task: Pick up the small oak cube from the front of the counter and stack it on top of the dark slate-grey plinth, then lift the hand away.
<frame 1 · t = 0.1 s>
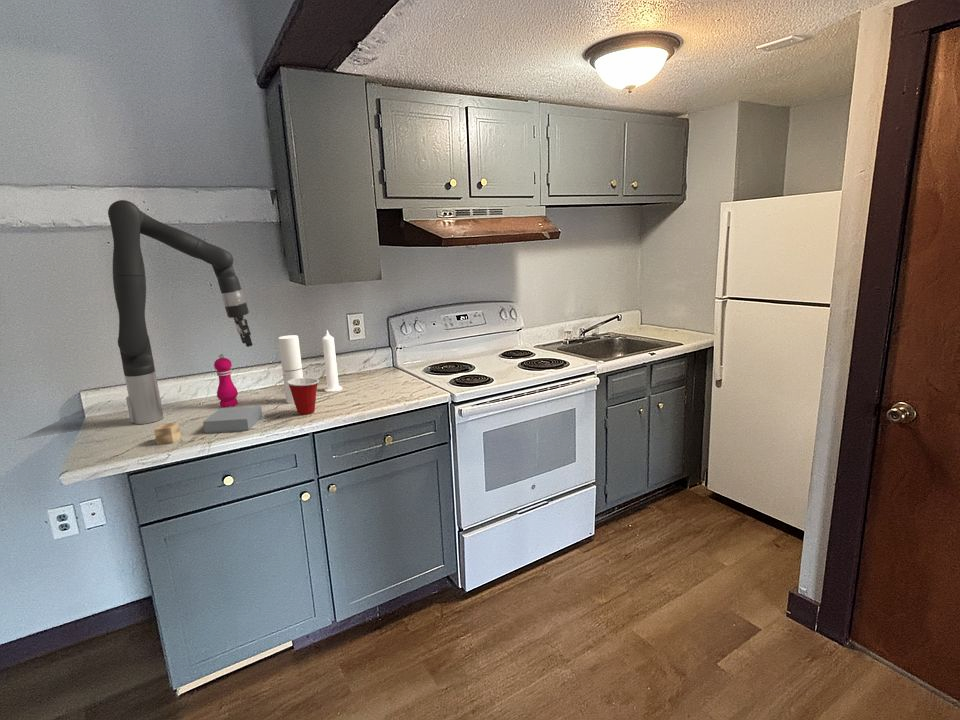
hand: (247, 344, 204), 22 cm above the worktop, tool pointing down, fingers open, 8 cm apart
oak cube: (169, 441, 169), on the worktop
pepper mill: (229, 405, 205), on the worktop
plastic cup: (307, 412, 192), on the worktop
slate plinth: (234, 424, 182), on the worktop
cylindrical container: (296, 400, 207), on the worktop
candle: (333, 390, 220), on the worktop
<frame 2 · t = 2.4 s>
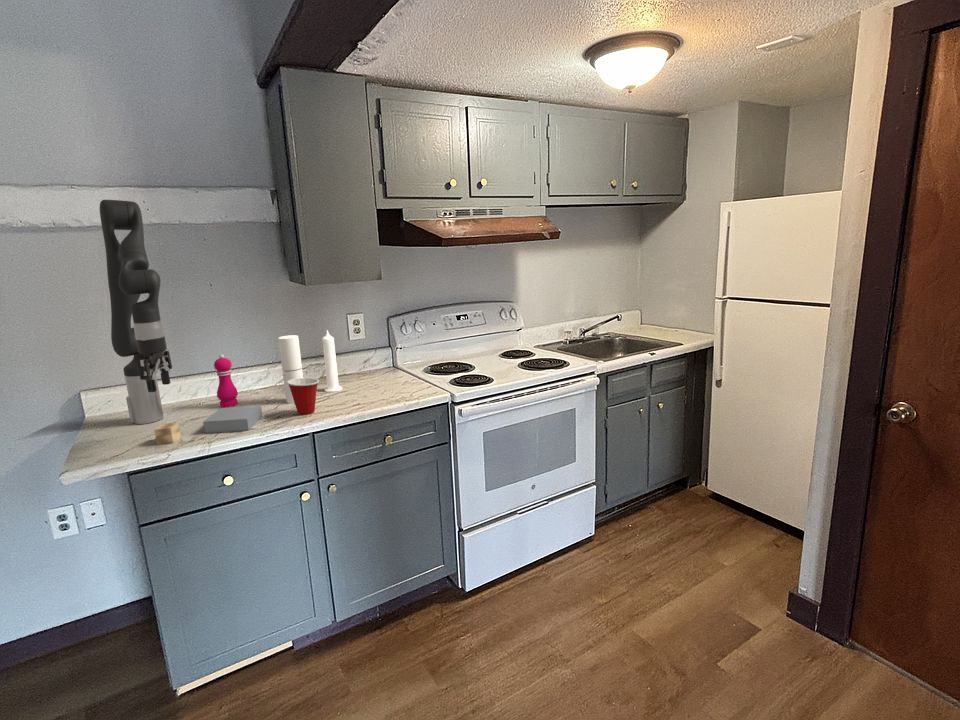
hand: (159, 387, 166), 17 cm above the worktop, tool pointing down, fingers open, 8 cm apart
nothing on the worktop moved.
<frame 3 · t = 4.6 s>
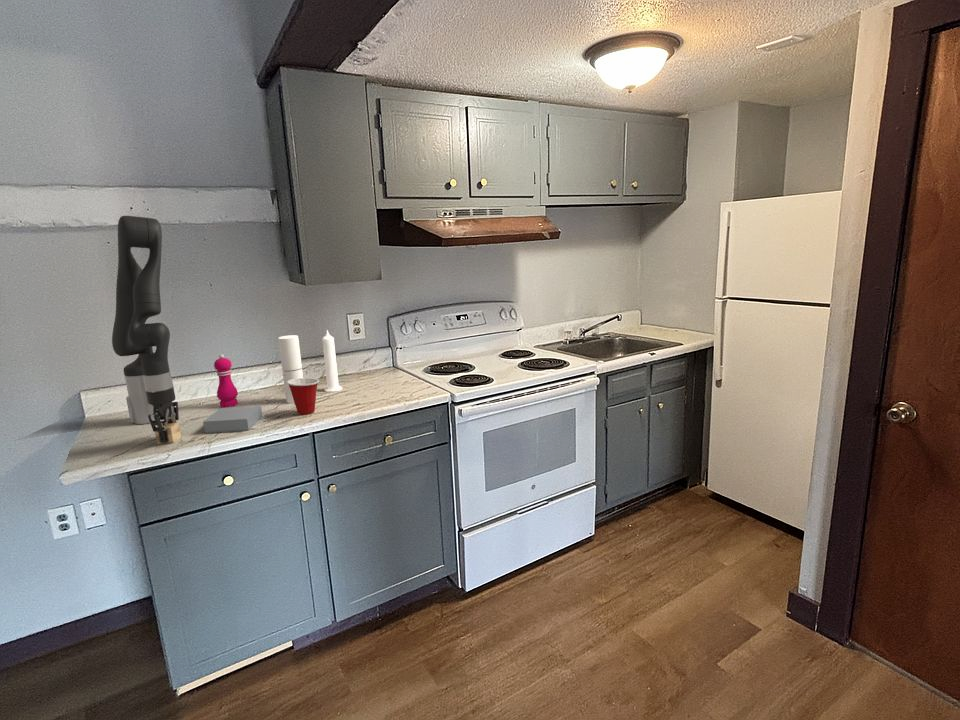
hand: (169, 438, 169), 1 cm above the worktop, tool pointing down, fingers closed on oak cube, 5 cm apart
oak cube: (169, 440, 169), on the worktop, touching gripper
everything else where it was.
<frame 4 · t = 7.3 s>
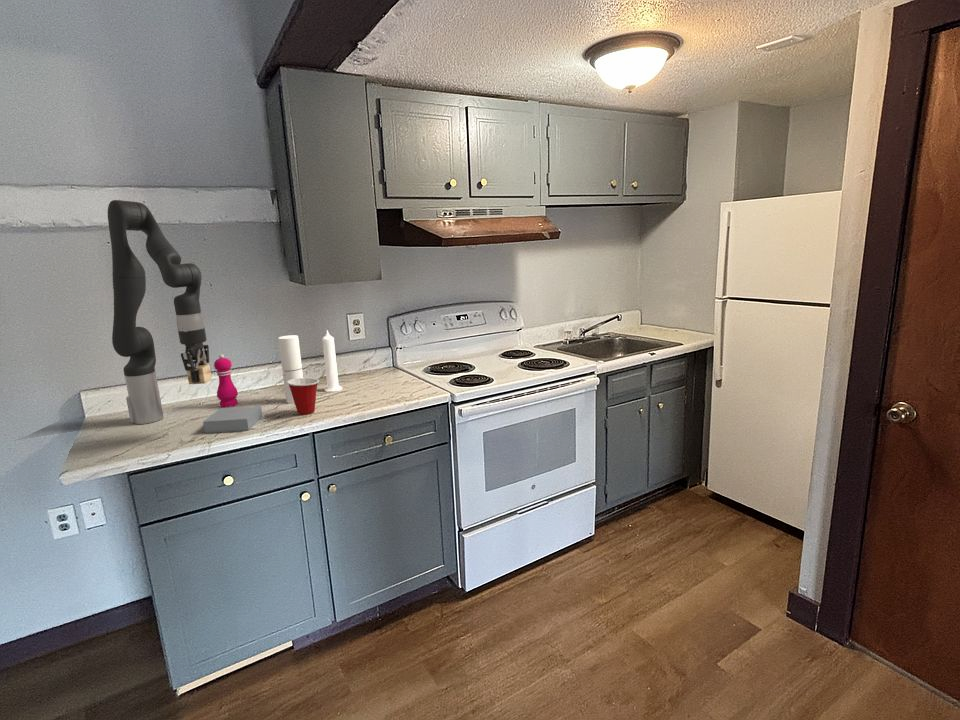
hand: (200, 379, 172), 18 cm above the worktop, tool pointing down, fingers closed on oak cube, 5 cm apart
oak cube: (200, 381, 173), point 17 cm above the worktop, touching gripper
everything else where it was.
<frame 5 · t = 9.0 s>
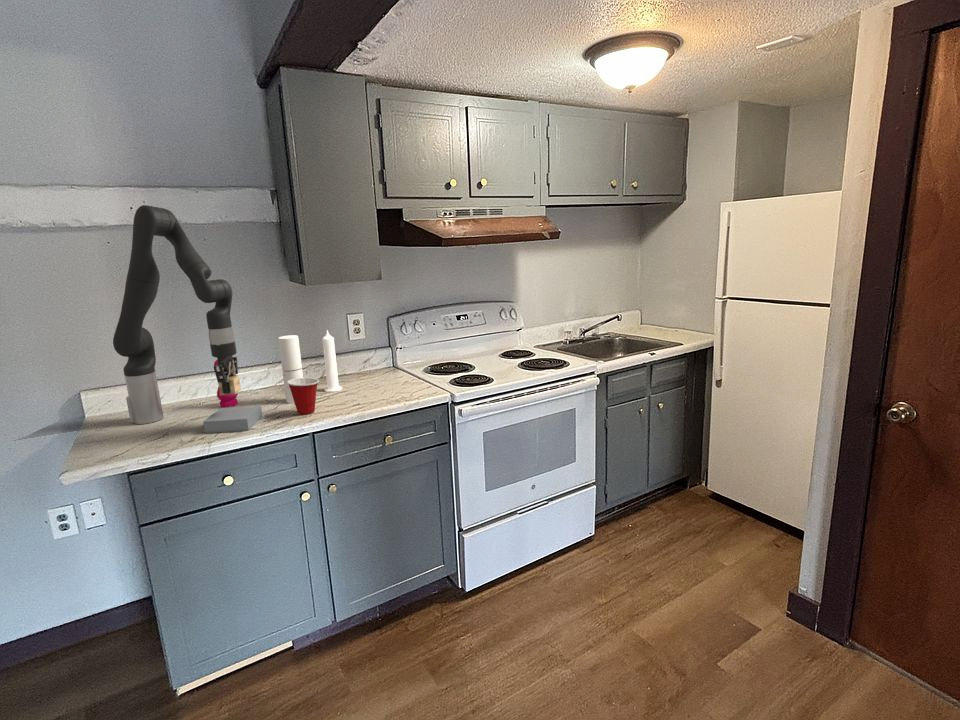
hand: (230, 390, 179), 12 cm above the worktop, tool pointing down, fingers closed on oak cube, 5 cm apart
oak cube: (230, 392, 180), point 11 cm above the worktop, touching gripper
everything else where it was.
when the fingers open (6 cm above the worktop, at t = 10.5 s): oak cube drops 1 cm, resting on slate plinth.
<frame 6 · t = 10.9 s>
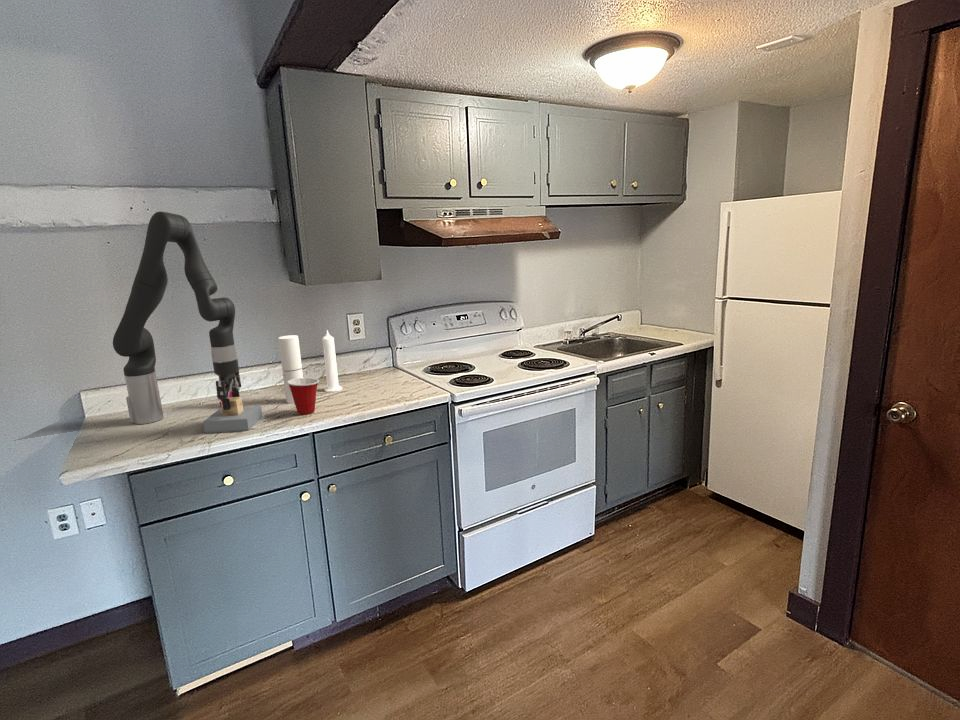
hand: (232, 405, 180), 7 cm above the worktop, tool pointing down, fingers open, 8 cm apart
oak cube: (233, 413, 181), point 4 cm above the worktop, touching slate plinth
everything else where it was.
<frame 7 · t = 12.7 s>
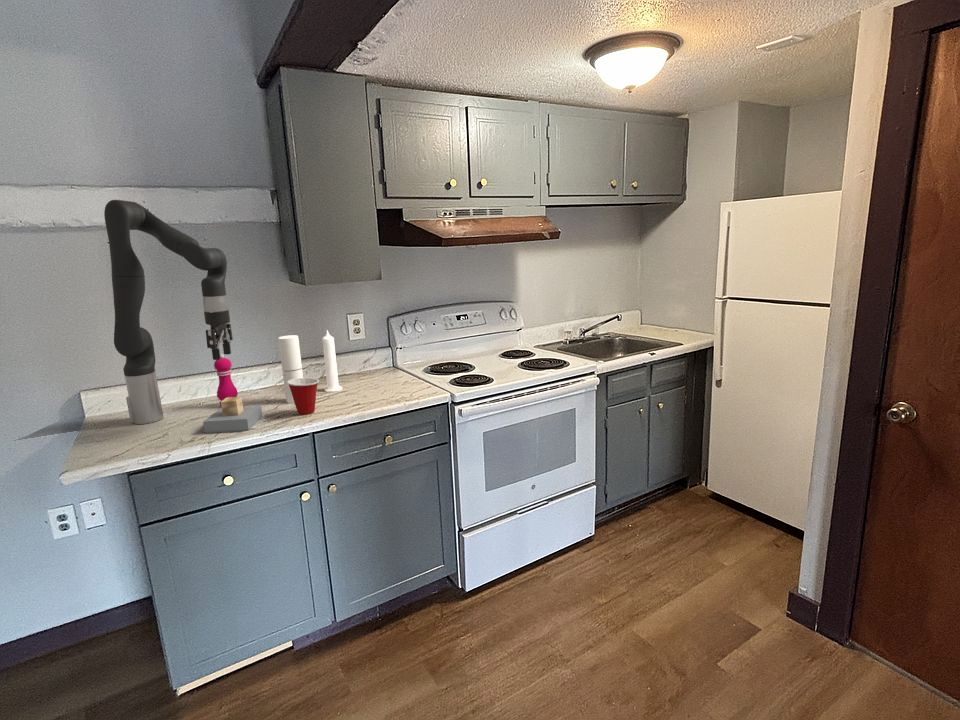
hand: (222, 356, 181), 23 cm above the worktop, tool pointing down, fingers open, 8 cm apart
nothing on the worktop moved.
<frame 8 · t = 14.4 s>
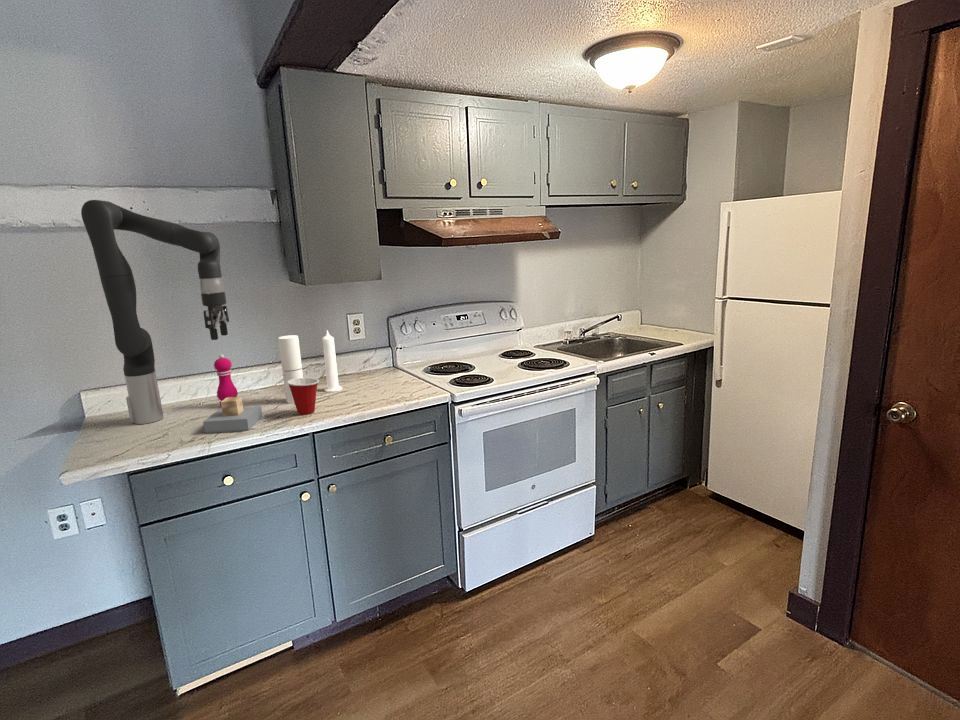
hand: (219, 337, 188), 28 cm above the worktop, tool pointing down, fingers open, 8 cm apart
nothing on the worktop moved.
at the end: oak cube inside the target area on the slate plinth (0.1 cm from its centre), point 4.0 cm above the slate plinth's base; oak cube tilted 0°; the gripper is holding nothing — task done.
